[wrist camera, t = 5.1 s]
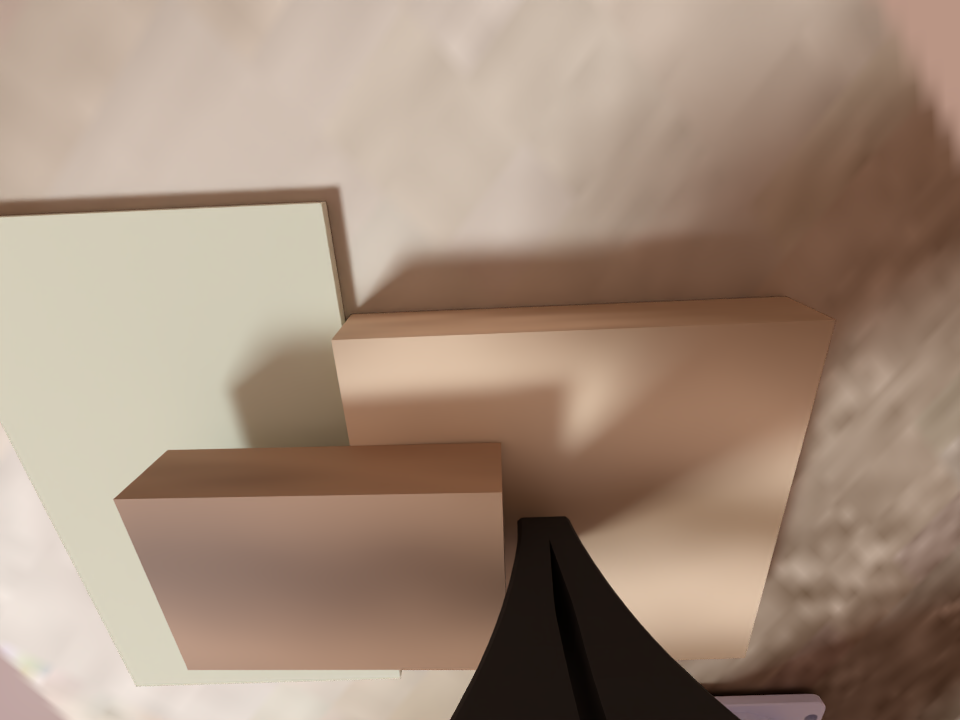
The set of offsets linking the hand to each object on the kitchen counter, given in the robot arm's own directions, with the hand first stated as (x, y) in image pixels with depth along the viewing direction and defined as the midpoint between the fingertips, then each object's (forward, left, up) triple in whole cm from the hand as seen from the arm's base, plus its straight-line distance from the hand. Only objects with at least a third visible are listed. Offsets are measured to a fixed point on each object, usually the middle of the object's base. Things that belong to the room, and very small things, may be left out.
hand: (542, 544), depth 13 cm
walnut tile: (0, +5, -1) cm, 6 cm away
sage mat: (0, +10, -3) cm, 11 cm away
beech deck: (0, -1, -3) cm, 3 cm away
